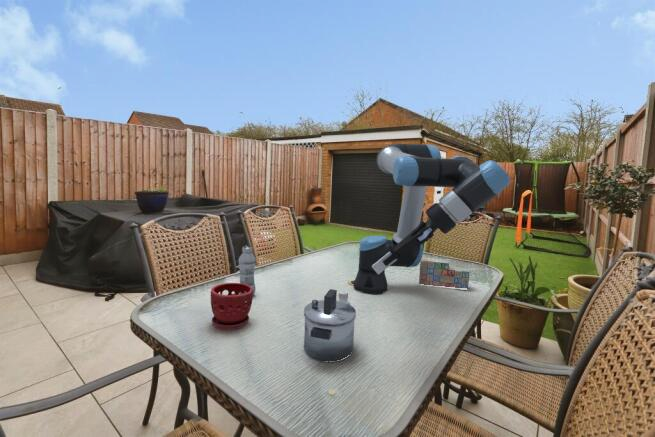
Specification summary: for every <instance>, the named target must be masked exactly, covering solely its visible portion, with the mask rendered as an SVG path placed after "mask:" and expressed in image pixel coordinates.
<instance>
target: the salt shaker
mask: <svg viewBox="0 0 655 437" xmlns="http://www.w3.org/2000/svg"><path fill="white" fill-rule="evenodd" d="M348 298H349V292H348V291H346V290H340V291H338V300H337V299H336V301H340V302H344V303H347V304H349V305H351V301H349V300H348Z"/></svg>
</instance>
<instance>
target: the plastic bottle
mask: <svg viewBox="0 0 655 437" xmlns="http://www.w3.org/2000/svg"><path fill="white" fill-rule="evenodd" d="M241 252H242V253H241V254H240V256H239V257H238V265H239V273H240V274H239V283H242V284H247V285H249V286H251V287H252V288H253V296H254V295H255V293H256V284H255V266H256V258H255V256H254V254H253V253H252V252H253V246H251V245H243V246H242V249H241ZM245 293H246V291H245ZM240 294H242V293H241V292H240V293H239V295H240Z"/></svg>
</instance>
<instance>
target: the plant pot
mask: <svg viewBox="0 0 655 437" xmlns="http://www.w3.org/2000/svg"><path fill="white" fill-rule="evenodd" d="M224 291H227V292H228V293H227V294H223V292H224ZM245 291H246V293H245ZM233 292H234V293H233ZM240 292H241V293H242V294H239V293H240ZM253 296H254V295H253V288H252V287H251V286H249V285H247V284H242V283H240V282H226V283H220V284H217V285H215V286H213V287H212V288H211V290H210V307H211V312H212V314H213V316H212V317H211V323H212V324H213V325H214V326H215V327H216V328H217V329H221V330H235V329H238V328H242V327H243V326H245V325H246V324H247V323H248V322H249V320H250V316H249V313H250V311H251V309H252V304H253V299H254V298H253Z"/></svg>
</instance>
